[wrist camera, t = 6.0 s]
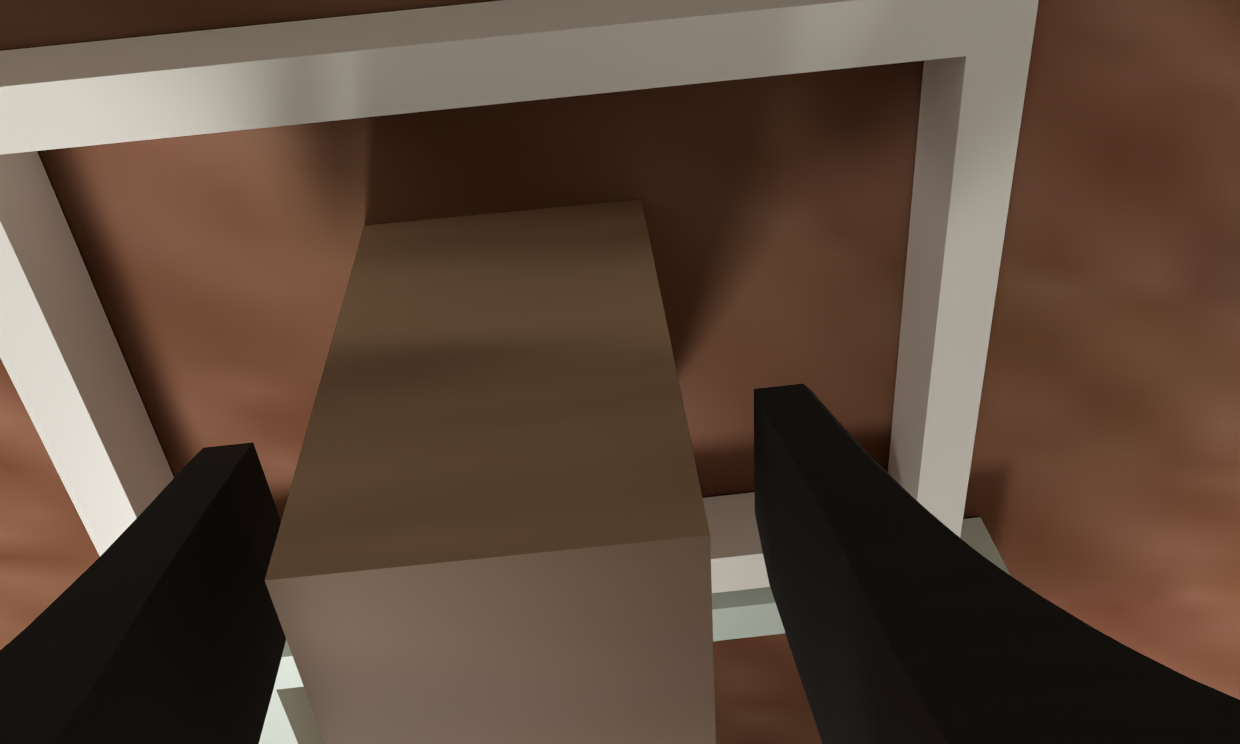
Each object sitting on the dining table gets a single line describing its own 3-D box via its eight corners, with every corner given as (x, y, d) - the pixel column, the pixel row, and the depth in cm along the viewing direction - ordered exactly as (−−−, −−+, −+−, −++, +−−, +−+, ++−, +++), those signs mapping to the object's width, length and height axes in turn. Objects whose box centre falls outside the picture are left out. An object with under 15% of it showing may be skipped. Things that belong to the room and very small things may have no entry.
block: (654, 418, 18) (717, 796, 12) (414, 442, 17) (359, 834, 12) (641, 198, 15) (710, 534, 10) (364, 225, 15) (264, 580, 9)
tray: (928, 506, 19) (955, 566, 18) (173, 588, 19) (149, 655, 18) (995, -49, 14) (1040, -19, 12) (-68, 58, 13) (-130, 100, 12)
